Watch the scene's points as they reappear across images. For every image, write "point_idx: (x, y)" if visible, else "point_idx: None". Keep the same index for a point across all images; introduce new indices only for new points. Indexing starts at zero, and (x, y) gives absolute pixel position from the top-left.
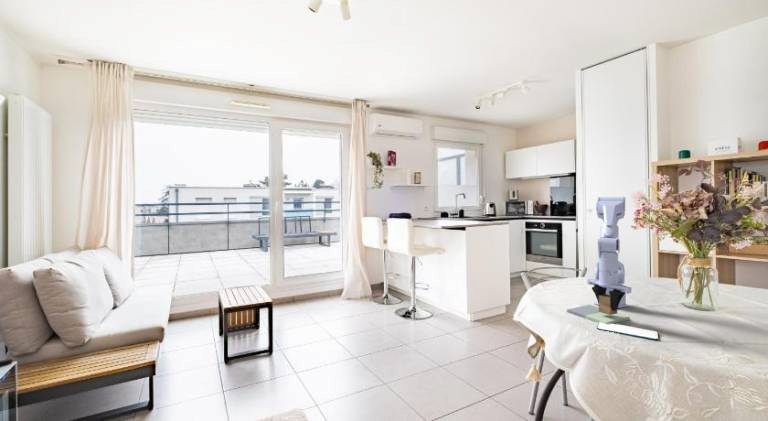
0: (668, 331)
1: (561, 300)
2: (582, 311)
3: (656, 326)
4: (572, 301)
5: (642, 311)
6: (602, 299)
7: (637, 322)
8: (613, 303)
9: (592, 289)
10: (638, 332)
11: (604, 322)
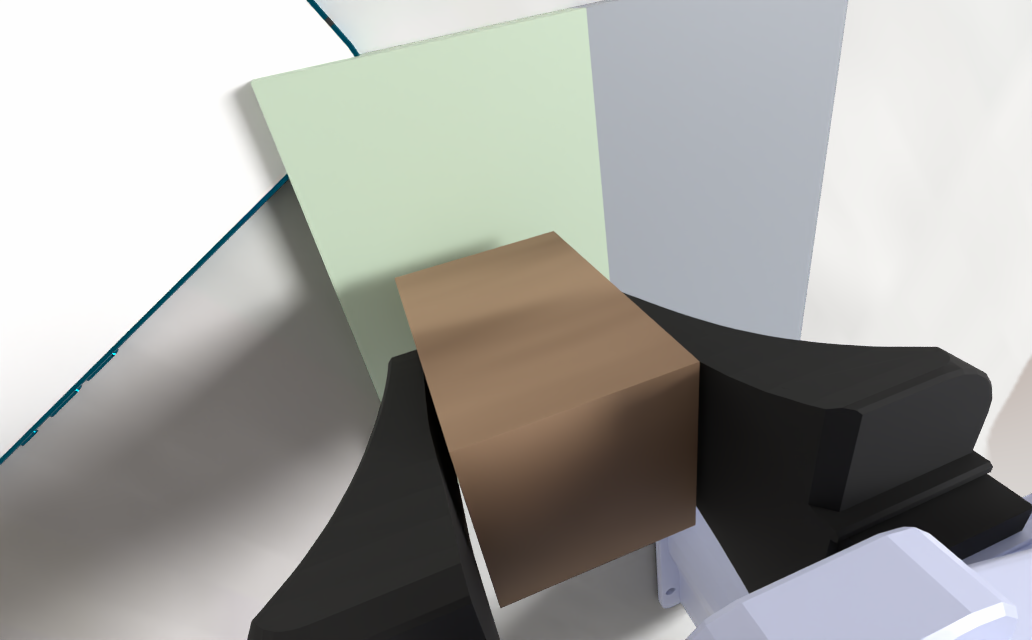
0: (35, 613)
1: (1010, 215)
2: (710, 115)
3: (196, 584)
4: (936, 295)
5: (549, 633)
6: (586, 348)
7: (324, 495)
8: (384, 425)
9: (919, 350)
10: None
11: (273, 77)
